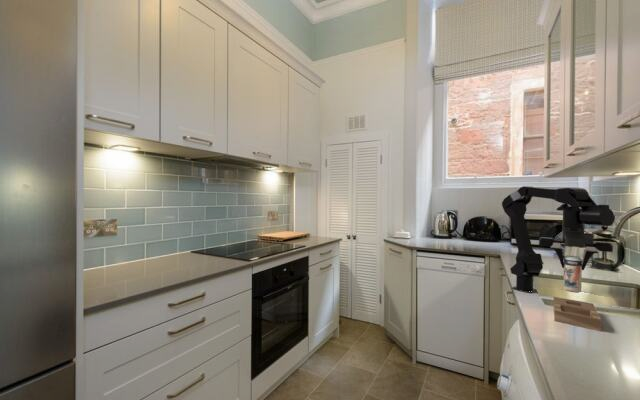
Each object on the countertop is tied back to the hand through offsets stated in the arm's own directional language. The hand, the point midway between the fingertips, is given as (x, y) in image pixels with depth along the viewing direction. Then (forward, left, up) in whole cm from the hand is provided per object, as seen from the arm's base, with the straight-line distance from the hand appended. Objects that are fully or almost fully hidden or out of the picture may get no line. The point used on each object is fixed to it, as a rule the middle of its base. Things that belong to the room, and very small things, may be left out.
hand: (572, 268), depth 98 cm
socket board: (+11, +4, -13) cm, 18 cm away
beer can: (0, 0, -8) cm, 8 cm away
